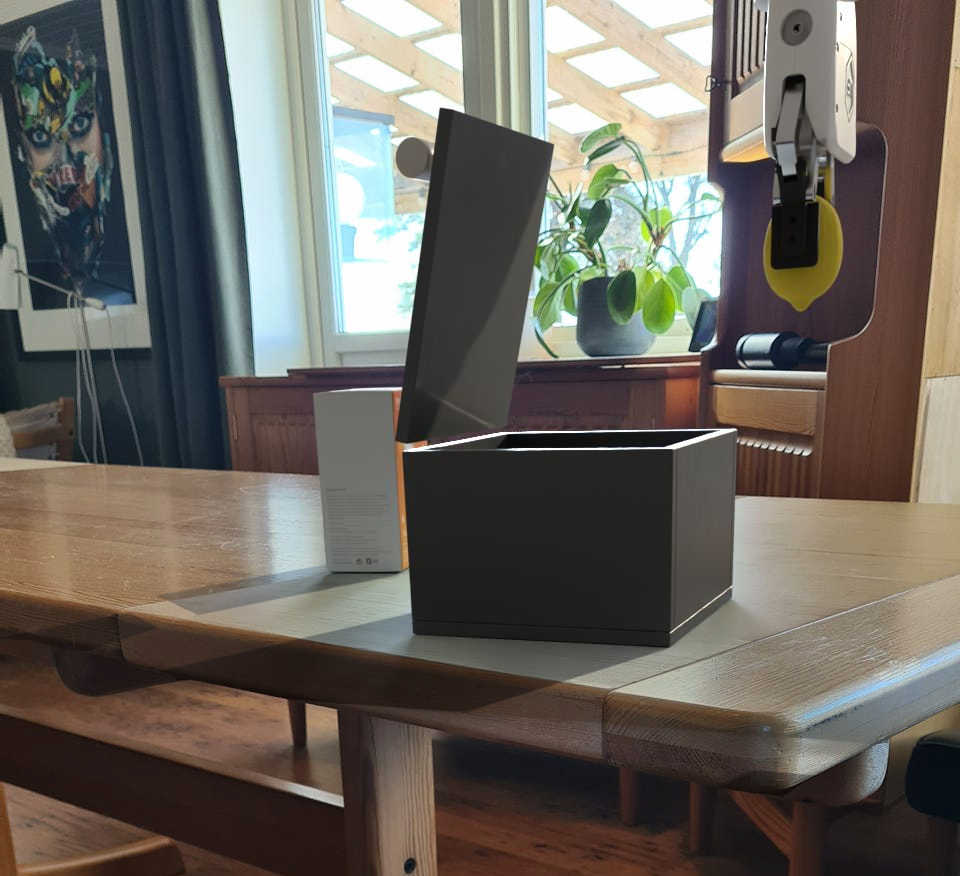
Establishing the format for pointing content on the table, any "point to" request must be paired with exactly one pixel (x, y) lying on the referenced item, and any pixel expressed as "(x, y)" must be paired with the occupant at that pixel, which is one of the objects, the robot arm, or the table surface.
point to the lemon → (809, 281)
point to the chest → (571, 534)
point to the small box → (362, 479)
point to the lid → (470, 273)
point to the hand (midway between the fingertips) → (802, 267)
